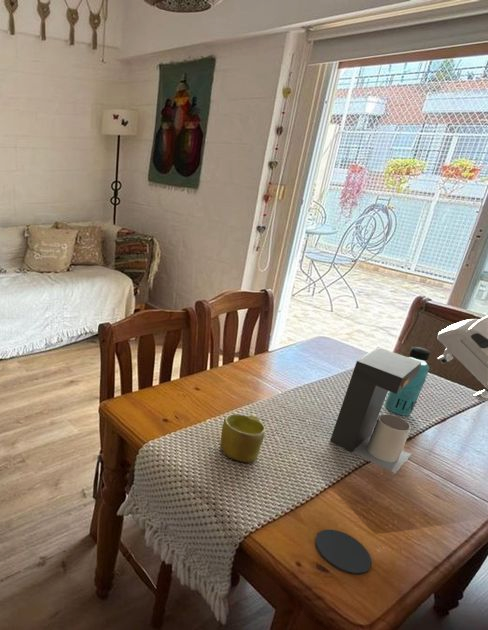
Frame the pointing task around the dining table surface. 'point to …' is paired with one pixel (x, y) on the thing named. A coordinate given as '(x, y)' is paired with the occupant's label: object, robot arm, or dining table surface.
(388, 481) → the dining table surface
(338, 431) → the coffee maker
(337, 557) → the coaster
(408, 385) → the beverage bottle
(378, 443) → the coffee cup
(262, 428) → the mug
